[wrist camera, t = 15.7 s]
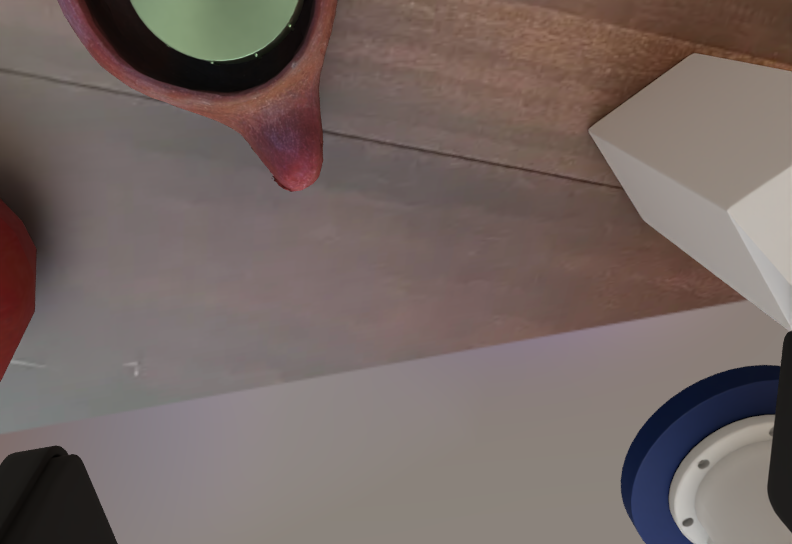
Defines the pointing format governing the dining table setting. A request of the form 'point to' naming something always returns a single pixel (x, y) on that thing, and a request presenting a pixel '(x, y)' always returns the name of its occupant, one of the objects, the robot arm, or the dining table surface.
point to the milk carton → (714, 170)
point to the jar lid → (220, 26)
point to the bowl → (225, 81)
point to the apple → (15, 283)
